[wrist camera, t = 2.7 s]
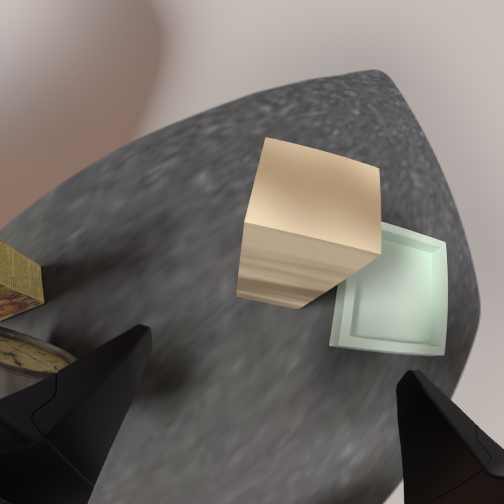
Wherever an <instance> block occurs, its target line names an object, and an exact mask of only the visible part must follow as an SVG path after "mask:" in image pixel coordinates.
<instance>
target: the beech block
mask: <svg viewBox="0 0 504 504" xmlns="http://www.w3.org/2000/svg"><path fill="white" fill-rule="evenodd" d="M379 255H381V196H380V177H379V168H376V167H373V166H370V165H367V164H364V163H361V162H358V161H355V160H351V159H348V158H345V157H341V156H338V155H335V154H331V153H328V152H324V151H320V150H317V149H313V148H309V147H305V146H301V145H297V144H293V143H289V142H284V141H280V140H276V139H271V138H265V142H264V146H263V150H262V154H261V158H260V162H259V166H258V170H257V174H256V178H255V182H254V186H253V190H252V194H251V198H250V202H249V206H248V210H247V214H246V218H245V222H244V231H243V239H242V248H241V257H240V266H239V274H238V283H237V292H236V296H237V297H241V298H246V299H251V300H255V301H260V302H265V303H269V304H274V305H279V306H284V307H289V308H294V309H300V308H301V307H303V306H305V305H306V304H308V303H309V302H311V301H313V300H314V299H316V298H317V297H319V296H320V295H322V294H323V293H325V292H327V291H328V290H330V289H331V288H333V287H334V286H336V285H337V284H339V283H340V282H342V281H343V280H345V279H346V278H348V277H349V276H351V275H352V274H354V273H355V272H356V271H358V270H359V269H361V268H362V267H364V266H365V265H367V264H368V263H369V262H371V261H372V260H374V259H375V258H376V257H378V256H379Z"/></svg>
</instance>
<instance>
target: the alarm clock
mask: <svg viewBox="0 0 504 504" xmlns="http://www.w3.org/2000/svg"><path fill="white" fill-rule="evenodd" d="M76 360H77V358H76V357H75V356H73V355H72V354H70V353H69V352H67V351H65V350H63V349H61V348H59V347H57V346H54V345H52V344H50V343H47V342H45V341H42V340H40V339H37V338H34V337H31V336H29V335H26V334H23V333H19V332H17V331H14V330H10V329H7V328H4V327H1V326H0V398H3V397H5V396H7V395H10V394H12V393H15V392H17V391H19V390H22V389H24V388H26V387H28V386H31V385H33V384H35V383H37V382H39V381H41V380H42V379H44V378H46V377H48V376H50V375H51V374H53V373H55V372H58V370H60V369H62V368H64V367H65V366H67V365H69V364H71V363H72V362H74V361H76Z"/></svg>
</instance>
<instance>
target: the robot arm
mask: <svg viewBox="0 0 504 504" xmlns="http://www.w3.org/2000/svg"><path fill="white" fill-rule="evenodd" d="M151 349H152V336H151V328H150V327H148V326H145V325H141V324H138V325H136V326H134V327H132V328H131V329H129V330H127V331H126V332H124V333H122V334H120V335H119V336H117V337H115V338H114V339H112V340H110V341H108V342H107V343H105V344H103V345H102V346H100V347H98V348H96V349H95V350H93V351H91V352H90V353H88V354H86V355H84V356H83V357H81V358H79V359H77V360H76V361H74V362H72V363H71V364H69V365H67V366H65V367H64V368H62V369H60V370H58V372H55V373H53V374H51V375H50V376H48V377H46V378H44V379H42V380H41V381H39V382H37V383H35V384H33V385H31V386H28V387H26V388H24V389H22V390H19V391H17V392H15V393H12V394H10V395H7V396H5V397H3V398H0V504H87V503H88V501H89V498H90V496H91V494H92V491H93V489H94V486H95V483H96V481H97V479H98V476H99V474H100V472H101V469H102V467H103V465H104V462H105V460H106V458H107V455H108V453H109V451H110V449H111V446H112V444H113V442H114V440H115V437H116V435H117V433H118V431H119V429H120V426H121V424H122V422H123V420H124V418H125V416H126V414H127V411H128V409H129V407H130V405H131V403H132V401H133V399H134V397H135V395H136V392H137V390H138V387H139V385H140V382H141V379H142V376H143V373H144V370H145V367H146V364H147V361H148V358H149V356H150V353H151ZM396 395H397V414H398V428H399V436H400V445H401V455H402V467H403V482H404V504H504V449H503V448H502V447H501V446H499V445H498V444H497V443H496V442H495V441H493V440H492V439H491V438H490V437H489V436H488V435H487V434H486V433H485V432H484V431H482V430H481V429H480V428H479V427H478V426H477V425H476V424H475V423H474V422H473V421H472V420H471V419H470V418H469V417H468V416H467V415H466V414H465V413H464V412H463V411H462V410H461V409H460V408H459V407H458V406H457V405H456V404H454V403H453V402H452V401H451V400H450V399H449V398H448V397H447V396H446V395H445V394H444V393H443V392H442V391H441V390H440V389H439V388H438V387H437V386H436V385H434V384H433V383H432V382H431V381H430V380H429V379H428V378H427V377H426V376H425V375H424V374H423V373H422V372H420V371H419V370H418V369H409V370H407V371H406V373H405V374H404V375H403V377H402V378H401V379H400V381H399V382H398V384H397V387H396Z"/></svg>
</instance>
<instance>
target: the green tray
mask: <svg viewBox="0 0 504 504" xmlns="http://www.w3.org/2000/svg"><path fill="white" fill-rule="evenodd" d="M447 311H448V275H447V255H446V242H443V241H440V240H437V239H434V238H431V237H428V236H426V235H422V234H419V233H416V232H413V231H410V230H407V229H404V228H401V227H398V226H394V225H391V224H388V223H384V222H381V255H379V256H378V257H376V258H375V259H374V260H372V261H371V262H369V263H368V264H367V265H365V266H364V267H362V268H361V269H359V270H358V271H356V272H355V273H354V274H352V275H351V276H349V277H348V278H346V279H345V280H343V281H342V282H340V283H339V284H338V286H337V294H336V302H335V309H334V317H333V323H332V330H331V336H330V343H329V346H332V347H340V348H347V349H355V350H363V351H372V352H382V353H392V354H404V355H418V356H442V355H444V354H445V344H446V331H447Z"/></svg>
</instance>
